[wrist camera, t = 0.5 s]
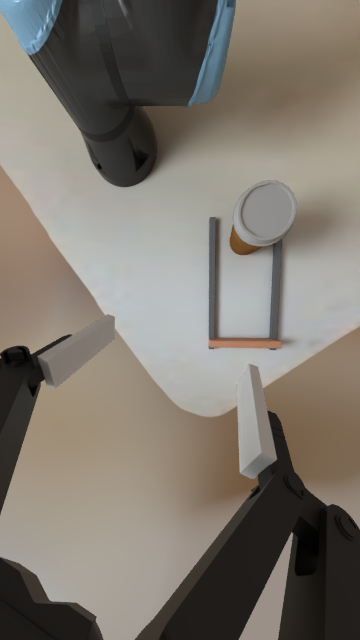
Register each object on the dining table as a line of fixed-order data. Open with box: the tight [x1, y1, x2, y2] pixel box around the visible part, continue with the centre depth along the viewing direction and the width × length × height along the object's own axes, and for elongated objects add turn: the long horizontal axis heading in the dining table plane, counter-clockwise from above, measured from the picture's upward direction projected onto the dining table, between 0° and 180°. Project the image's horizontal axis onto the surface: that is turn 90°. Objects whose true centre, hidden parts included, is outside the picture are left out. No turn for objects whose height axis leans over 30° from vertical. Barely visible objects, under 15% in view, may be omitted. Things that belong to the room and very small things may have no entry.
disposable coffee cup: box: [230, 180, 297, 255], centre depth 30 cm, size 10×10×12 cm
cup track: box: [209, 217, 282, 350], centre depth 36 cm, size 30×15×3 cm, turn 1°
